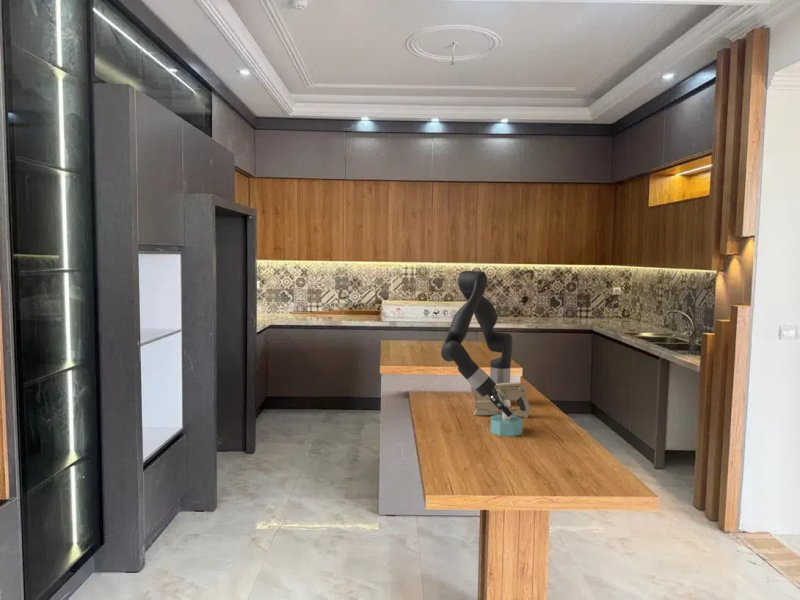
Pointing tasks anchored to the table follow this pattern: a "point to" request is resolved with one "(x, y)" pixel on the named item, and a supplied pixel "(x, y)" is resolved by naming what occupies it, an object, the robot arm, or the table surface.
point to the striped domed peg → (508, 405)
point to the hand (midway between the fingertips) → (510, 412)
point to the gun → (508, 392)
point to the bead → (506, 425)
